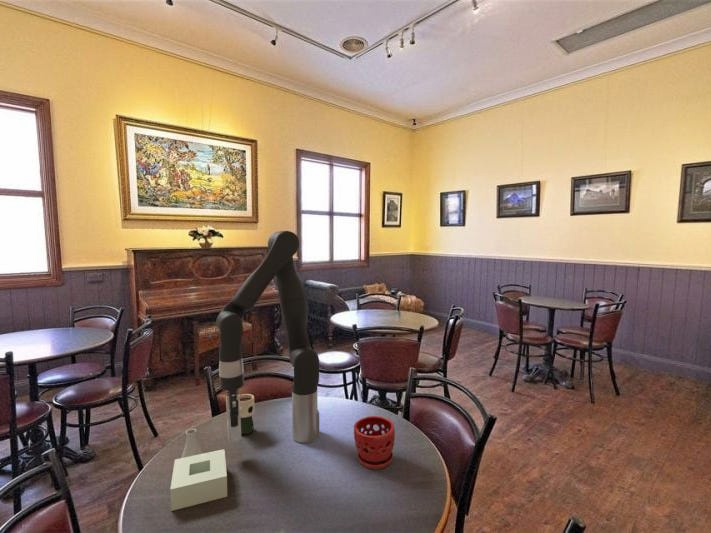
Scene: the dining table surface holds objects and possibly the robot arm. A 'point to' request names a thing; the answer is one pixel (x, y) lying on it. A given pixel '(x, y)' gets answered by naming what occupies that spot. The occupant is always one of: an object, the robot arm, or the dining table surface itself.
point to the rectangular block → (233, 432)
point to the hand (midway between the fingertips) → (234, 422)
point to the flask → (191, 444)
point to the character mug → (246, 412)
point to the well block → (198, 479)
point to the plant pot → (374, 442)
